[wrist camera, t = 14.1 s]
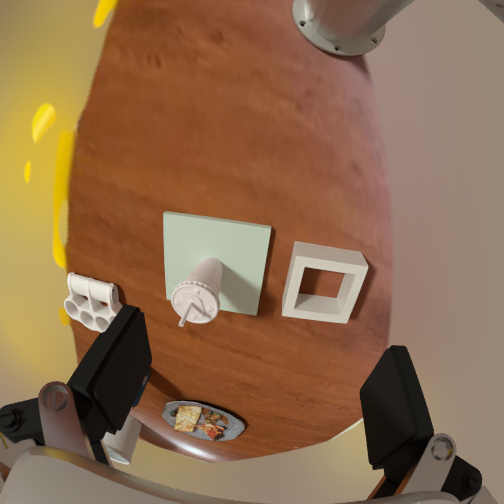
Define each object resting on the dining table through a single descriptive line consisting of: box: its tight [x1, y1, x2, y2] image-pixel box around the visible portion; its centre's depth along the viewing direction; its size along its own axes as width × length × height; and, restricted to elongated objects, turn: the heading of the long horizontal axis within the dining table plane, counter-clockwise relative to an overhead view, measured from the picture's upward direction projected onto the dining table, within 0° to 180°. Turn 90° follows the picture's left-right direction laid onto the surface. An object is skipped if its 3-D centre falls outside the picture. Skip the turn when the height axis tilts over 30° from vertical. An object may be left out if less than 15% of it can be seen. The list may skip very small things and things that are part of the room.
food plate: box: [162, 401, 245, 442], centre depth 68 cm, size 25×23×4 cm
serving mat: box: [163, 211, 271, 316], centre depth 43 cm, size 16×16×1 cm
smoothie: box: [171, 257, 223, 327], centre depth 36 cm, size 6×6×14 cm
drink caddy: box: [282, 241, 368, 324], centre depth 40 cm, size 10×10×4 cm
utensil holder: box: [103, 414, 142, 465], centre depth 71 cm, size 15×15×18 cm
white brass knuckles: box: [64, 272, 122, 333], centre depth 50 cm, size 3×18×15 cm
